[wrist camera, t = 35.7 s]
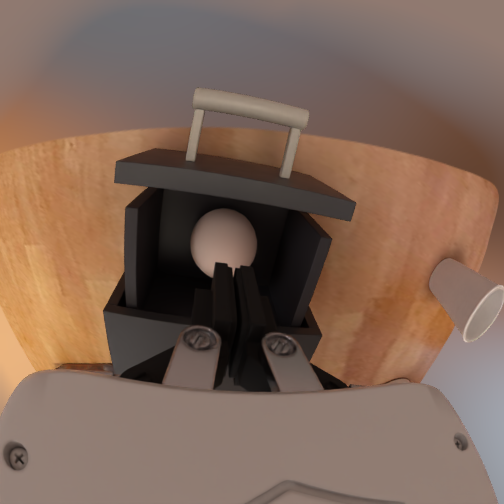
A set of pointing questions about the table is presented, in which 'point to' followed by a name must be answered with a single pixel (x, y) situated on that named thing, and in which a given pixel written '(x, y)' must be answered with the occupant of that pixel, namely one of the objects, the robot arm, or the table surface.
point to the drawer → (229, 197)
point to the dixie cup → (466, 297)
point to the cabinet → (171, 334)
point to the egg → (223, 240)
